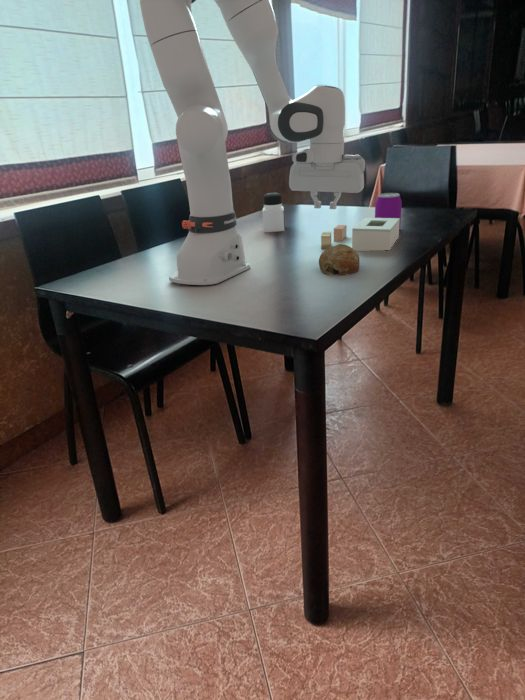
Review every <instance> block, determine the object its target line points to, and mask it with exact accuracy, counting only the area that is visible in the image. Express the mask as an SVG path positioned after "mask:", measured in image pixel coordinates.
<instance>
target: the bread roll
mask: <svg viewBox="0 0 525 700" xmlns="http://www.w3.org/2000/svg"><path fill="white" fill-rule="evenodd" d="M318 266H319V270H320V271H321V273H322V274H325V275H327V276H329V275H333V276H347V275H346V274H349V275H352V273H353V274H355V272H356V273H357V272H359V270H360V255H359V252H358V251H355V250H354V249H353V248H352V246H349V245H346V244H342V243H338V244H336V245H333V246H331V248H329V249H323V251H322V252H321V254H320V255H319V259H318Z"/></svg>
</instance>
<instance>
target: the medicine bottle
mask: <svg viewBox="0 0 525 700" xmlns="http://www.w3.org/2000/svg"><path fill="white" fill-rule="evenodd" d="M262 198H263V208H262V212H261V213H262V225H263V226H262V227H263V233H265V234H266V233H275V232H285V230H286V227H285V209H284V208H285V207H284V206H283V200H282V194H281V193H279V192H269V193H265V194H264V195H263V197H262Z"/></svg>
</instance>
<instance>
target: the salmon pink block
mask: <svg viewBox="0 0 525 700" xmlns="http://www.w3.org/2000/svg"><path fill="white" fill-rule="evenodd" d="M346 238H347V225H346V224H338V225H336V226H335V227H334V228H333V242H342V241H344V240H345V239H346Z"/></svg>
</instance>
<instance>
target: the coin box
mask: <svg viewBox="0 0 525 700" xmlns="http://www.w3.org/2000/svg"><path fill="white" fill-rule="evenodd" d="M399 224H400V218H375V217H363V218H362V219H361V220H360V221H359V222H358V223H356V225H354V226H353V227H352V229H351V230H352V238H351V244H352V245H351V248H353V249H354V250H355V251H356V252H371V251H370V250H390V249H392V248H393V247H394V245H395V244H396V243H395V241H396V240H397V239H398V240H399V238H400V237H399V236H400V231H399ZM398 237H399V238H398ZM398 240H397V241H398ZM397 241H396V242H397ZM394 243H395V244H394ZM393 244H394V245H393ZM392 246H393V247H392ZM391 247H392V248H391ZM390 251H391V250H390Z"/></svg>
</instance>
